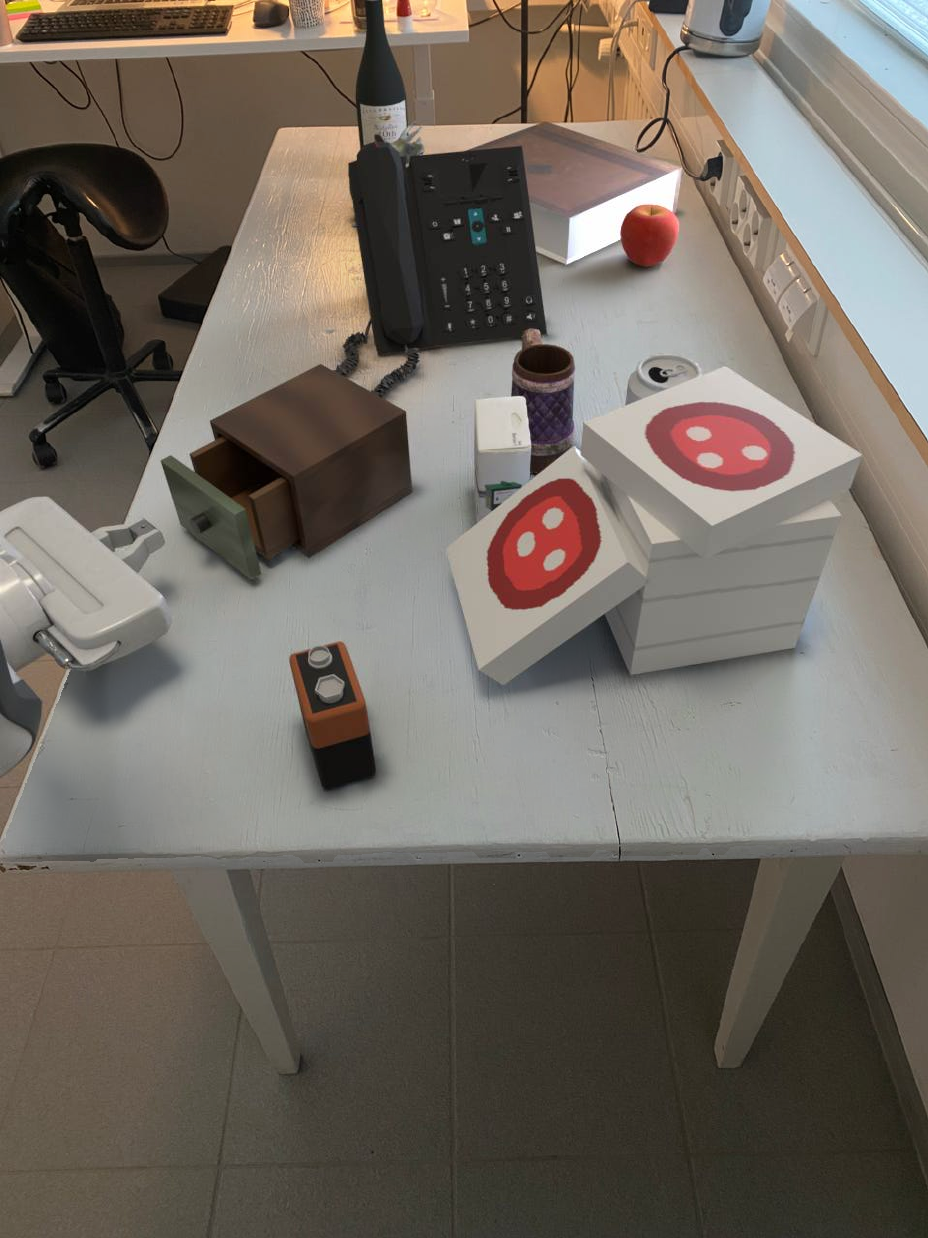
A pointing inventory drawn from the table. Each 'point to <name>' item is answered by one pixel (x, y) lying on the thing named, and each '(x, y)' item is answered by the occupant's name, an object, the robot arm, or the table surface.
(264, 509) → the drawer
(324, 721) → the battery
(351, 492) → the cabinet
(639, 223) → the apple
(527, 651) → the pizza boxes
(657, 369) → the can
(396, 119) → the wine bottle
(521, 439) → the ink box
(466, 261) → the office phone
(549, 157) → the book
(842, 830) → the table surface
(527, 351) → the mug
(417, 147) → the toy dinosaur
